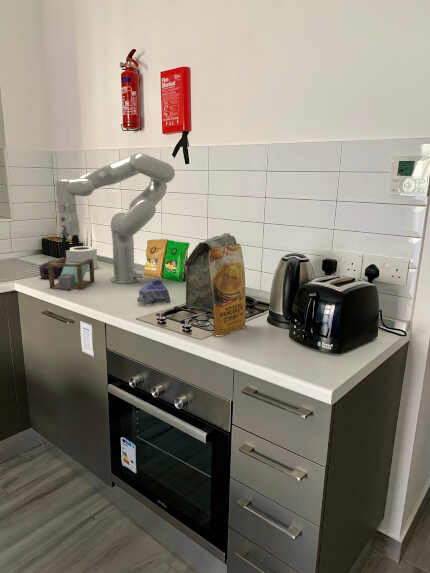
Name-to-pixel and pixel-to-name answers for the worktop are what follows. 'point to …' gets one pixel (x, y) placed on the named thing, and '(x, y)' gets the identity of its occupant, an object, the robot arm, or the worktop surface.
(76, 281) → the trapdoor
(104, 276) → the worktop surface
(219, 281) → the pancake mix bag
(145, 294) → the mineral
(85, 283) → the frame
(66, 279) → the gray cube
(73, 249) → the toilet paper roll
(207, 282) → the bag
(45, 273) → the rock
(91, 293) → the worktop surface
